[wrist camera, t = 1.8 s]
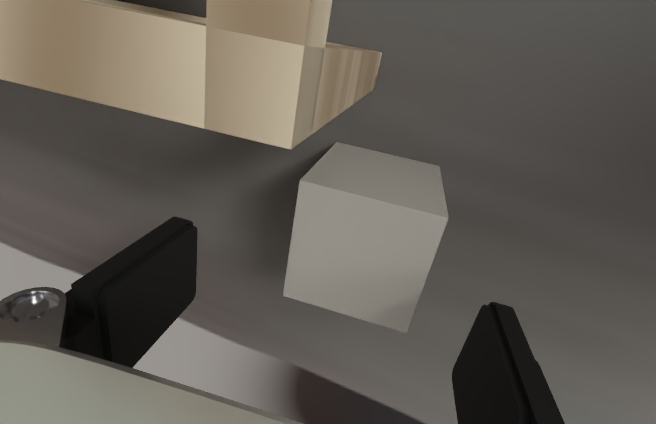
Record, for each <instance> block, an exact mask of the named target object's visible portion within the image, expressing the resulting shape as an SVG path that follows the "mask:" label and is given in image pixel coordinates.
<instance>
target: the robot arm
mask: <svg viewBox="0 0 656 424" xmlns="http://www.w3.org/2000/svg"><path fill="white" fill-rule="evenodd" d="M196 265H197V228H196V227H195V226H193V222H192V221H190V220H186V219H182V218H178V217H172V218H171V219H169V220H168V221H166V222H165V223H163V224H162V225H160V226H159V227H157V228H156V229H154V230H153V231H151V232H150V233H148V234H146V235H145V236H143V237H142V238H140V239H139V240H137V241H136V242H134V243H133V244H131V245H130V246H128V247H127V248H125V249H124V250H122V251H121V252H119V253H118V254H116V255H115V256H113V257H112V258H110V259H109V260H107V261H106V262H104V263H103V264H101V265H100V266H98V267H97V268H95V269H94V270H92V271H91V272H89V273H88V274H86V275H85V276H83V277H82V278H80V279H78V280H77V281H75V282H74V283H73V284H72V285H71V287H72V289H71V290H69V291H68V292H66V293H65V294H64V293H63V292H62V291H61V290H58V289H55V288H50V287H39V288H32V289H26V290H23V291H20V292H17V293H14V294H12V295H10V296H8V297H6V298H4V299H3V300H1V301H0V424H303V423H300V422H297V421H294V420H290V419H287V418H284V417H281V416H278V415H275V414H272V413H269V412H266V411H263V410H260V409H257V408H254V407H251V406H248V405H245V404H242V403H238V402H235V401H233V400H229V399H226V398H223V397H220V396H217V395H214V394H211V393H208V392H205V391H202V390H199V389H195V388H192V387H189V386H186V385H183V384H180V383H177V382H174V381H171V380H167V379H164V378H161V377H158V376H155V375H152V374H149V373H145V372H142V371H139V370H136V369H133V366H134V365H135V364H136V363H137V362H138V361H139V360H140V359H141V358H142V356H143V355H144V354H145V353H146V352H147V351H148V350H149V348H151V346H152V345H153V344H154V343H155V342H156V341H157V340H158V339H159V337H160V336H161V335H162V334H163V333H164V332H165V331H166V330H167V329H168V328H169V326H170V325H171V324H172V323H173V322H174V321H175V320H176V319H177V318H178V316H179V315H180V314H181V313H182V312H183V311H184V310H185V309H186V308H187V307H188V305H189V304H190V303H191V302H192V301H193V299H194V297H195V293H196ZM452 383H453V390H454V397H455V405H456V412H457V419H458V424H565V423H564V421H563V419H562V416H561V414H560V412H559V409H558V407H557V405H556V402H555V400H554V398H553V396H552V393H551V391H550V389H549V386H548V384H547V382H546V379H545V377H544V375H543V372H542V370H541V368H540V366H539V364H538V362H537V361H535V359H534V356H533V354H532V352H531V349H530V347H529V344H528V342H527V340H526V337H525V335H524V333H523V330H522V328H521V326H520V323H519V321H518V318H517V316H516V314H515V311H514V309H513V308H512V307H510V306H506V305H502V304H498V303H495V302H491V303H490V304H489V305H488V306H487V305H483V306H482V307H481V309H480V311H479V313H478V315H477V318H476V320H475V322H474V324H473V326H472V329H471V331H470V333H469V335H468V337H467V339H466V342H465V344H464V346H463V348H462V350H461V352H460V355H459V357H458V359H457V361H456V363H455V365H454V368H453V372H452Z"/></svg>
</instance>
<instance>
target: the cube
mask: <svg viewBox="0 0 656 424" xmlns="http://www.w3.org/2000/svg"><path fill="white" fill-rule="evenodd" d="M448 219H449V217H448V211H447V206H446V200H445V195H444V189H443V183H442V178H441V172H440V166H437V165H433V164H429V163H425V162H420V161H416V160H412V159H408V158H403V157H399V156H395V155H390V154H386V153H382V152H378V151H373V150H369V149H365V148H361V147H356V146H352V145H348V144H344V143H339V142H336V143H335V144H334V145H333V146H332V147H331V148H330V149H329V150H328V151H327V153H326V154H325V155H324V156H323V157H322V158H321V159H320V160H319V161H318V162H317V163H316V164H315V165H314V166H313V167H312V168H311V169H310V170H309V171H308V172H307V173H306V174H305V175H304V176H303V177H302V178H301V179H300V182H299V189H298V196H297V203H296V209H295V216H294V223H293V230H292V236H291V243H290V250H289V257H288V264H287V270H286V277H285V284H284V291H283V296H285V297H288V298H292V299H295V300H298V301H302V302H305V303H308V304H311V305H315V306H318V307H321V308H325V309H328V310H331V311H335V312H338V313H341V314H344V315H348V316H351V317H354V318H358V319H361V320H364V321H367V322H371V323H374V324H377V325H381V326H384V327H387V328H390V329H394V330H397V331H400V332H404V333H407V331H408V328H409V325H410V323H411V320H412V317H413V314H414V312H415V309H416V306H417V303H418V301H419V298H420V295H421V292H422V290H423V287H424V284H425V281H426V279H427V276H428V273H429V271H430V268H431V265H432V262H433V260H434V257H435V254H436V251H437V249H438V246H439V243H440V240H441V238H442V235H443V232H444V229H445V227H446V224H447V221H448Z"/></svg>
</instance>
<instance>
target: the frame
mask: <svg viewBox="0 0 656 424" xmlns="http://www.w3.org/2000/svg"><path fill="white" fill-rule="evenodd" d="M331 6H332V0H207V5H206V18H203V17H198V16H193V15H188V14H182V13H177V12H172V11H167V10H162V9H157V8H152V7H147V6H141V5H136V4H131V3H126V2H121V1H116V0H0V79H2V80H6V81H10V82H14V83H18V84H22V85H26V86H31V87H35V88H39V89H43V90H47V91H51V92H55V93H59V94H64V95H68V96H72V97H76V98H80V99H84V100H88V101H92V102H96V103H101V104H105V105H109V106H113V107H117V108H121V109H125V110H129V111H134V112H138V113H142V114H146V115H150V116H154V117H158V118H162V119H167V120H171V121H175V122H179V123H183V124H187V125H191V126H195V127H199V128H204V129H208V130H212V131H216V132H220V133H224V134H228V135H232V136H237V137H241V138H245V139H249V140H253V141H257V142H261V143H265V144H269V145H274V146H278V147H282V148H286V149H290V150H291V149H293V148H294V147H295V146H297V145H298V144H299V143H301V142H302V141H304V140H305V139H306V138H308V137H309V136H310V135H312V134H313V133H315V132H316V131H317V130H319V129H320V128H321V127H323V126H324V125H326V124H327V123H328V122H330V121H331V120H332V119H334V118H335V117H337V116H338V115H339V114H341V113H342V112H343V111H345V110H346V109H348V108H349V107H350V106H352V105H353V104H354V103H356V102H357V101H358V100H360V99H361V98H363V97H364V96H365V95H367V94H368V93H369V92H371V91H372V90H374V89H375V85H376V80H377V76H378V71H379V66H380V62H381V57H382V52H377V51H372V50H367V49H362V48H357V47H351V46H346V45H341V44H336V43H331V42H326V39H327V32H328V26H329V19H330V13H331Z"/></svg>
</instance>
